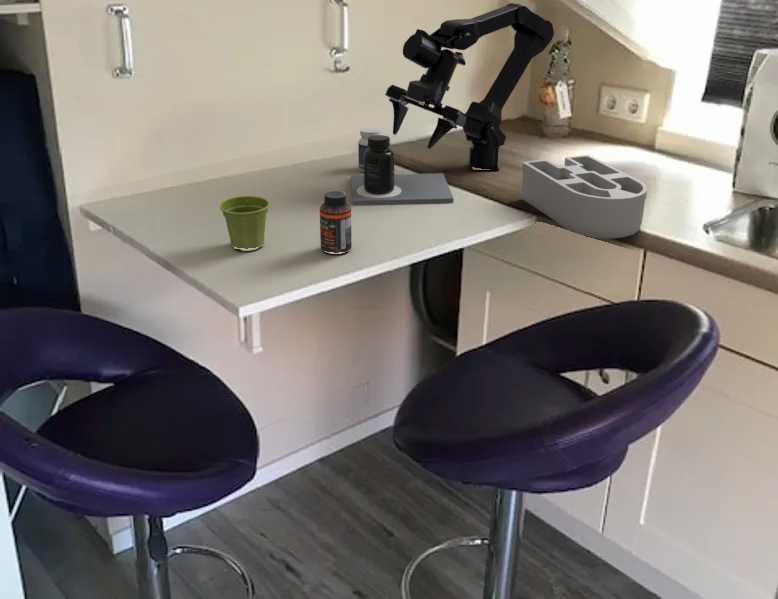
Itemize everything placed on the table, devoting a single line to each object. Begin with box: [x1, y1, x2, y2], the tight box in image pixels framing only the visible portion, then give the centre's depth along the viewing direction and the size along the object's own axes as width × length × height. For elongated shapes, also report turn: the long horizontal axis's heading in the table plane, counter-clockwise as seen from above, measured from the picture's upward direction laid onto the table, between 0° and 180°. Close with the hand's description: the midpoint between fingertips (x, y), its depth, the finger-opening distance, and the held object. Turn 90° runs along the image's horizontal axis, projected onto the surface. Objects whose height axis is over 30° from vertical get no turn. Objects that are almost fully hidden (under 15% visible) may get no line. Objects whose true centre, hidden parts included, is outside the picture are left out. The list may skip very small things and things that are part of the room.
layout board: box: [350, 172, 455, 206], centre depth 196 cm, size 22×18×1 cm
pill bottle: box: [357, 127, 381, 173], centre depth 208 cm, size 6×6×10 cm
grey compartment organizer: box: [521, 154, 648, 239], centre depth 180 cm, size 17×28×9 cm, turn 20°
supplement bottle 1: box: [319, 190, 353, 253], centre depth 162 cm, size 6×6×11 cm
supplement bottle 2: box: [363, 134, 395, 194], centre depth 190 cm, size 7×7×12 cm
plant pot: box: [219, 195, 271, 249], centre depth 164 cm, size 9×9×9 cm
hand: (411, 141), depth 195 cm, fingers open, 9 cm apart
